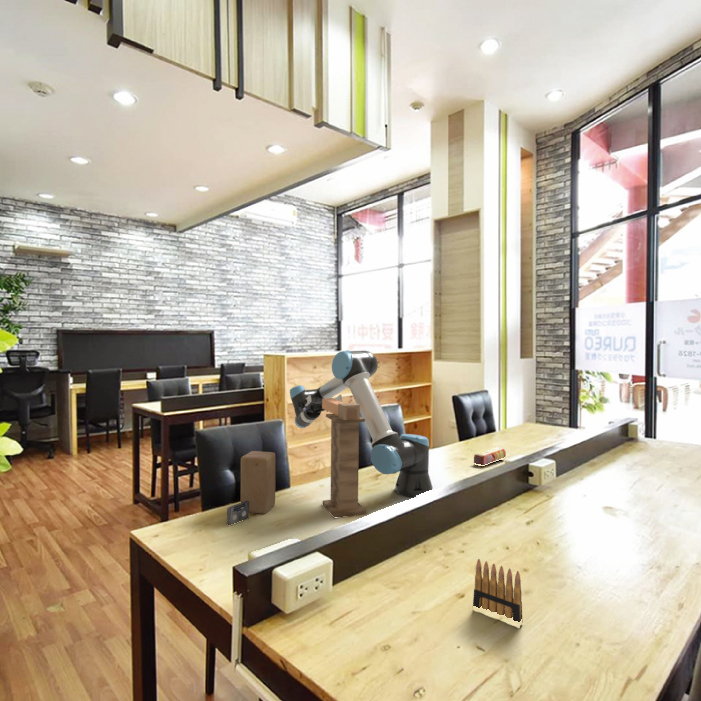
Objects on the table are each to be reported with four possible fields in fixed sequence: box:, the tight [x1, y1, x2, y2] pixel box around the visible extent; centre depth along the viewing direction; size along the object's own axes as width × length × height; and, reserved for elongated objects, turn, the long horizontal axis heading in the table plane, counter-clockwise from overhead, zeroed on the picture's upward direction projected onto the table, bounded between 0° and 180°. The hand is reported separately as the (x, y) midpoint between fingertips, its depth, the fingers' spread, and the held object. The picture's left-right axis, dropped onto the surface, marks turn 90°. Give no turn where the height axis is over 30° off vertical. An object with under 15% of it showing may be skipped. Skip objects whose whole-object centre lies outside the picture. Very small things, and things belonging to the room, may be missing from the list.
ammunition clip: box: [472, 558, 523, 622], centre depth 102 cm, size 11×2×12 cm, turn 52°
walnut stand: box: [321, 413, 368, 518], centre depth 166 cm, size 14×12×34 cm
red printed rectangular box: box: [473, 446, 507, 465], centre depth 233 cm, size 21×7×7 cm, turn 132°
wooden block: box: [240, 450, 276, 515], centre depth 166 cm, size 10×10×20 cm
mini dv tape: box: [226, 501, 250, 526], centre depth 154 cm, size 8×2×6 cm, turn 145°
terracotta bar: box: [322, 397, 361, 420], centre depth 173 cm, size 28×6×5 cm, turn 21°
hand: (325, 397), depth 190 cm, fingers open, 13 cm apart
